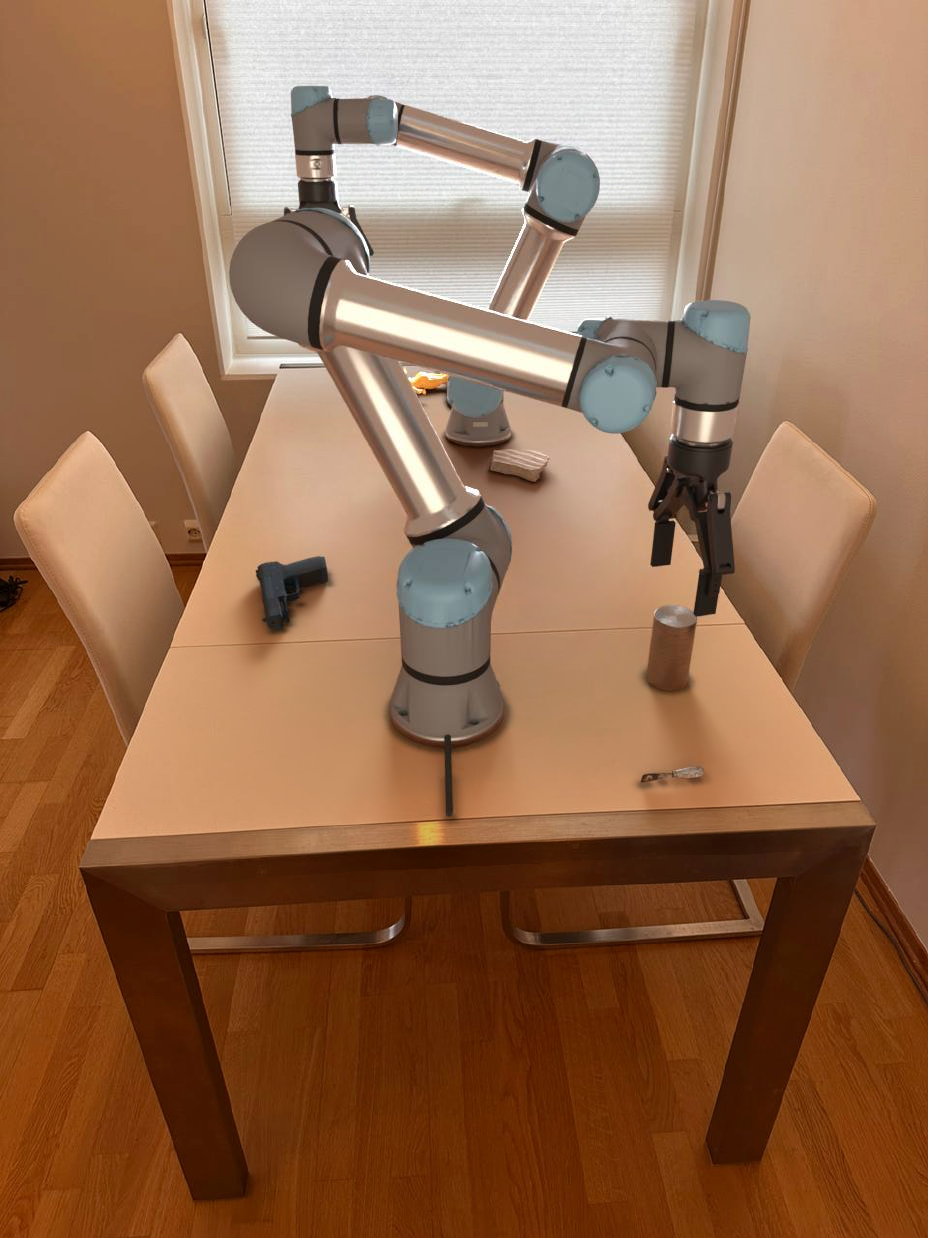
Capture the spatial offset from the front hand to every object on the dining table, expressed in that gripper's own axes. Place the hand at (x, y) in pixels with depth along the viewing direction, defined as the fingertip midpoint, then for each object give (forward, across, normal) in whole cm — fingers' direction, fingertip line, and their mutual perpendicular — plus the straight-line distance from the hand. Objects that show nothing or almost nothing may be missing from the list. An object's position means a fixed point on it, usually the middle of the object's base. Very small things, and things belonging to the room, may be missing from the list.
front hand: (681, 588), depth 119 cm
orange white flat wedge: (+14, +139, +8) cm, 140 cm away
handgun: (+14, +35, +50) cm, 63 cm away
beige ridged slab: (+15, +78, -1) cm, 80 cm away
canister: (+15, 0, 0) cm, 15 cm away
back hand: (-20, +98, +36) cm, 106 cm away
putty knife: (+15, -20, +9) cm, 26 cm away
